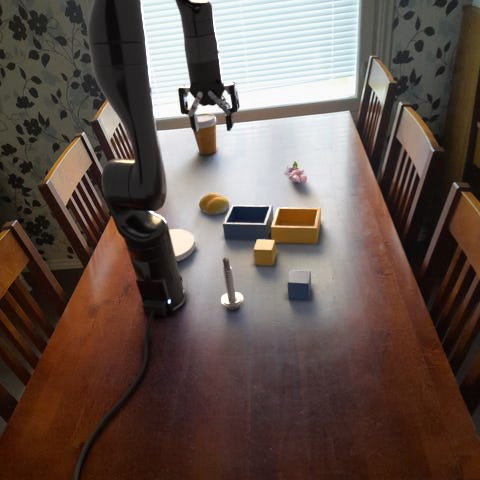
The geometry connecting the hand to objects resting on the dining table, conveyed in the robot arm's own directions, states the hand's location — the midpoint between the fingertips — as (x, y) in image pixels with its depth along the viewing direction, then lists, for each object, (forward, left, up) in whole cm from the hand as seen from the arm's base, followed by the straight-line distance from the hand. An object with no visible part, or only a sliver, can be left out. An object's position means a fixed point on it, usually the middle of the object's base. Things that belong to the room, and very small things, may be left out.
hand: (212, 130), depth 113 cm
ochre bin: (-7, -21, -25) cm, 33 cm away
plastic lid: (-18, +11, -25) cm, 32 cm away
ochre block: (-20, -15, -25) cm, 35 cm away
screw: (-38, -11, -25) cm, 46 cm away
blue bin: (-6, -8, -25) cm, 27 cm away
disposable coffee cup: (+47, +19, -25) cm, 57 cm away
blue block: (-32, -25, -25) cm, 47 cm away
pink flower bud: (+23, -17, -25) cm, 38 cm away
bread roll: (+5, +5, -25) cm, 26 cm away
